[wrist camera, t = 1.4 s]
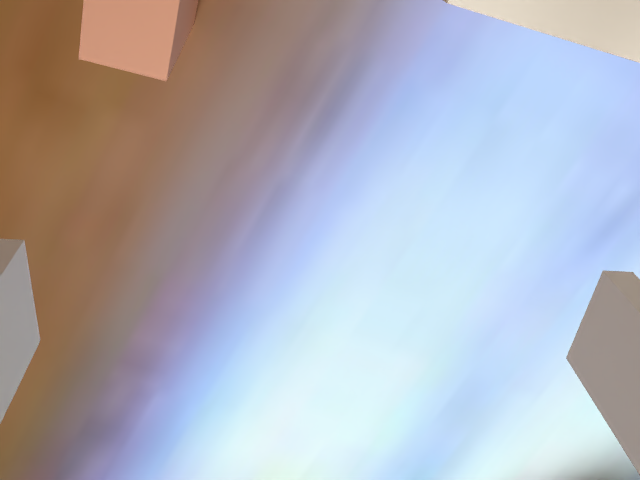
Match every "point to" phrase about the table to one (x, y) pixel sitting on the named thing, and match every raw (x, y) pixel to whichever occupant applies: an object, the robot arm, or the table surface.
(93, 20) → the pink rectangular block
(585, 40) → the pale green white box
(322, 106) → the table surface
